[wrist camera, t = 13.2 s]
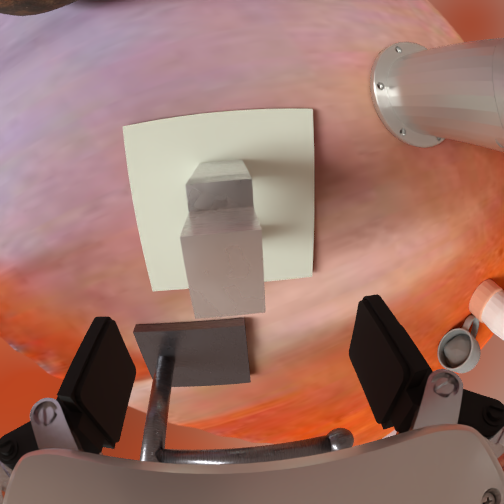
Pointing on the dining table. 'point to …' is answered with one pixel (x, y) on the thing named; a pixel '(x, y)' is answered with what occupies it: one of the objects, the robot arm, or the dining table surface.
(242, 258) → the stepped metal block
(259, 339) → the dining table surface
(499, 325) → the salt shaker
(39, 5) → the jug
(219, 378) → the stand
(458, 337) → the ceramic mug
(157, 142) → the mat
